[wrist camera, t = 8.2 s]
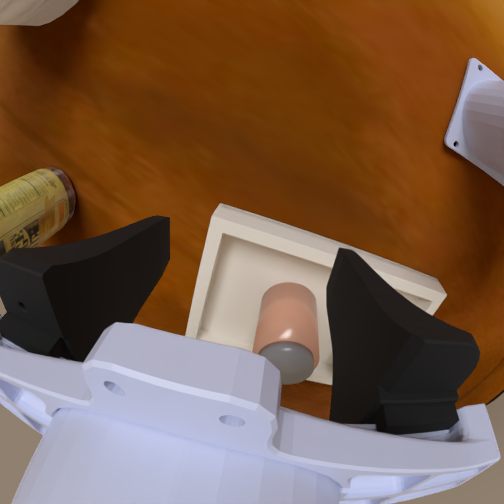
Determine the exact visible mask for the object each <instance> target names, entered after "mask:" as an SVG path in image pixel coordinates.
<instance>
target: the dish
mask: <svg viewBox="0 0 504 504" xmlns="http://www.w3.org/2000/svg"><path fill="white" fill-rule="evenodd" d="M339 247H340V248H346V249H351V250H354V251H355V252H356V253H357V254H358V255H359V256H360V257H361V258H362V259H364V260H365V262H366V263H367V264H368V265H369V266H370V267H371V268H372V269H373V270H374V271H375V272H376V273H377V274H379V275H380V276H381V277H382V278H383V279H384V280H385V281H386V282H387V283H388V284H389V285H390V286H391V287H393V288H394V289H395V290H396V291H397V292H399V293H400V294H401V295H402V296H404V297H405V298H406V299H408V300H409V301H410V302H412V303H413V304H415V305H416V306H418V307H419V308H421V309H422V310H424V311H425V312H427V313H429V314H430V315H433V314H434V313H435V311H436V310H437V309H438V307H439V306H440V304H441V303H442V302H443V300H444V299H445V297H446V296H447V294H446V292H445V291H444V289H443V287H442V286H441V284H440V283H439V281H438V279H437V278H434V277H432V276H429V275H427V274H424V273H422V272H419V271H416V270H414V269H411V268H409V267H406V266H403V265H401V264H398V263H395V262H393V261H390V260H387V259H385V258H382V257H379V256H376V255H374V254H371V253H368V252H365V251H363V250H360V249H357V248H354V247H352V246H349V245H346V244H343V243H340V242H337V241H335V240H332V239H329V238H326V237H323V236H320V235H317V234H314V233H311V232H308V231H305V230H302V229H299V228H297V227H294V226H291V225H288V224H284V223H281V222H278V221H275V220H272V219H269V218H266V217H263V216H260V215H257V214H254V213H251V212H247V211H244V210H241V209H238V208H235V207H231V206H228V205H225V204H222V203H220V204H219V206H218V207H217V209H216V210H215V212H214V213H213V215H212V218H211V222H210V226H209V230H208V234H207V238H206V242H205V247H204V251H203V255H202V260H201V264H200V269H199V273H198V278H197V282H196V287H195V291H194V296H193V301H192V306H191V310H190V315H189V320H188V325H187V330H186V335H185V336H186V337H190V338H195V339H199V340H203V341H208V342H213V343H217V344H222V345H227V346H232V347H238V348H242V349H245V350H247V351H250V352H253V346H254V340H255V334H256V329H257V323H258V317H259V311H260V305H261V300H262V297H263V295H264V293H265V292H266V291H267V290H268V289H269V288H270V287H272V286H274V285H276V284H279V283H285V282H292V283H298V284H301V285H303V286H305V287H307V288H308V289H309V290H310V291H311V292H312V293H313V294H314V296H315V298H316V304H317V319H318V336H319V357H320V359H319V363H318V365H317V367H316V368H315V369H314V371H313V373H312V374H311V376H310V377H309V378H307V379H306V380H309V381H314V382H319V383H324V384H329V385H332V376H333V365H332V360H333V355H332V344H331V336H330V329H329V322H328V315H327V308H326V286H327V283H328V280H329V277H330V274H331V271H332V268H333V265H334V262H335V258H336V255H337V252H338V249H339Z"/></svg>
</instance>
